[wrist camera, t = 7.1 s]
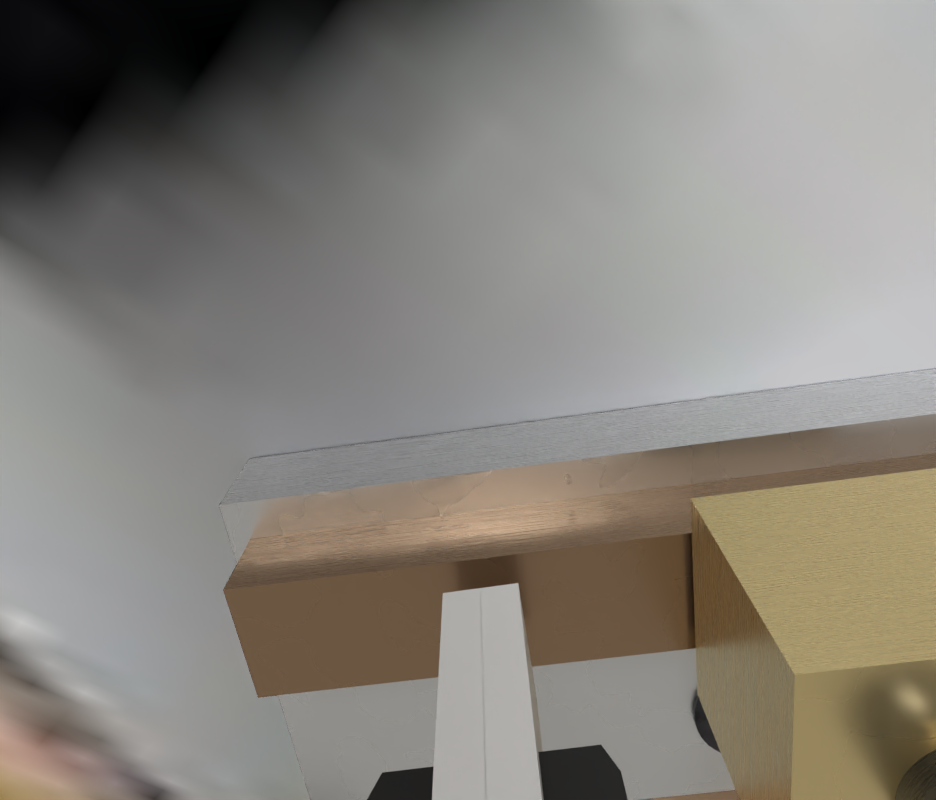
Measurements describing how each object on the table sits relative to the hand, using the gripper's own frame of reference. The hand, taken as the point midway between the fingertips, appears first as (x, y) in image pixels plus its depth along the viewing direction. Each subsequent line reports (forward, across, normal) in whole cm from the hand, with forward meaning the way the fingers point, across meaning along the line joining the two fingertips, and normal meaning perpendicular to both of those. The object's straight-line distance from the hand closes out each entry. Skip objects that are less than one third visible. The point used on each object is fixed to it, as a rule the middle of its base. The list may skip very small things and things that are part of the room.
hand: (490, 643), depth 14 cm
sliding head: (+3, +7, -3) cm, 8 cm away
